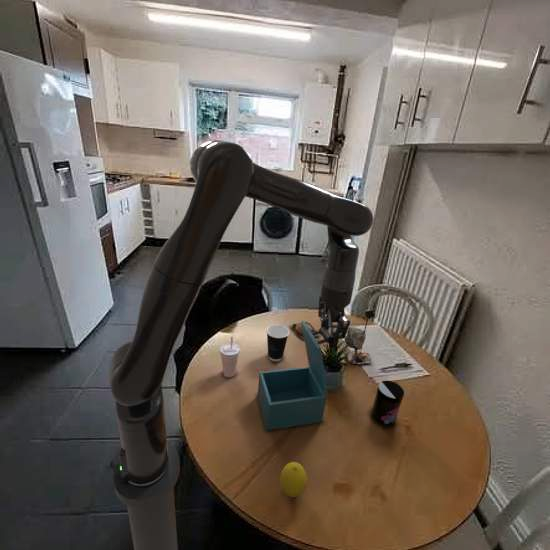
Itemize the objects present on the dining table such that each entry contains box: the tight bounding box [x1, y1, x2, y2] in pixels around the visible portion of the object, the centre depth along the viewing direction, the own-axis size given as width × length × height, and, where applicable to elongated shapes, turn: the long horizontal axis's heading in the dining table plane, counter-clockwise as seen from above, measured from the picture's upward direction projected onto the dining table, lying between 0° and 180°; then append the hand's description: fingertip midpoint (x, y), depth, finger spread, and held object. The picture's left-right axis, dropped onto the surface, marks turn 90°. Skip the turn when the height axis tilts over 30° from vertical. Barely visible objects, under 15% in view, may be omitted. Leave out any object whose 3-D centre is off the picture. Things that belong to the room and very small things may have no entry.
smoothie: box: [219, 335, 241, 379], centre depth 97 cm, size 6×6×14 cm
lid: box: [300, 320, 331, 397], centre depth 84 cm, size 16×13×6 cm
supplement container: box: [371, 380, 405, 427], centre depth 86 cm, size 7×7×10 cm
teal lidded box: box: [257, 365, 327, 431], centre depth 87 cm, size 16×13×9 cm
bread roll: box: [290, 321, 320, 341], centre depth 126 cm, size 11×8×4 cm
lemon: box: [279, 461, 308, 498], centre depth 66 cm, size 6×6×8 cm
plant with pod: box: [341, 308, 376, 365], centre depth 109 cm, size 8×11×20 cm
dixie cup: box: [265, 324, 290, 362], centre depth 108 cm, size 8×8×11 cm
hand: (328, 340), depth 83 cm, fingers open, 5 cm apart
